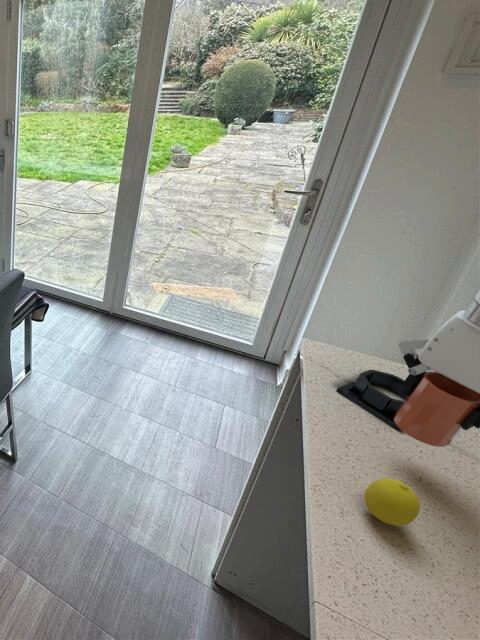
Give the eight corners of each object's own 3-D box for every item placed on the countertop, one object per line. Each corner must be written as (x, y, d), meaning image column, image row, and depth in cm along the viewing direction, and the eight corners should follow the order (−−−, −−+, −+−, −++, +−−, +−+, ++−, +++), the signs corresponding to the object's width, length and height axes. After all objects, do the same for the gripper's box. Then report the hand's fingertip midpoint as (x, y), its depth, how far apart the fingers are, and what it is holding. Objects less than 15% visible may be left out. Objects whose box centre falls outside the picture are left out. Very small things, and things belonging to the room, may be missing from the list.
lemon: (368, 531, 62) (395, 498, 58) (347, 496, 66) (371, 464, 63) (412, 541, 60) (441, 508, 57) (387, 504, 65) (413, 472, 62)
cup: (407, 410, 73) (438, 367, 69) (457, 440, 68) (494, 396, 63) (384, 420, 71) (415, 377, 66) (435, 452, 65) (471, 407, 61)
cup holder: (367, 378, 91) (377, 363, 89) (431, 415, 82) (443, 399, 80) (336, 390, 87) (345, 375, 85) (399, 431, 78) (411, 414, 76)
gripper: (615, 352, 53) (525, 445, 61) (440, 286, 67) (386, 368, 75) (591, 366, 50) (500, 460, 59) (414, 294, 65) (361, 378, 73)
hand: (437, 408), depth 67 cm, fingers closed on cup, 6 cm apart
